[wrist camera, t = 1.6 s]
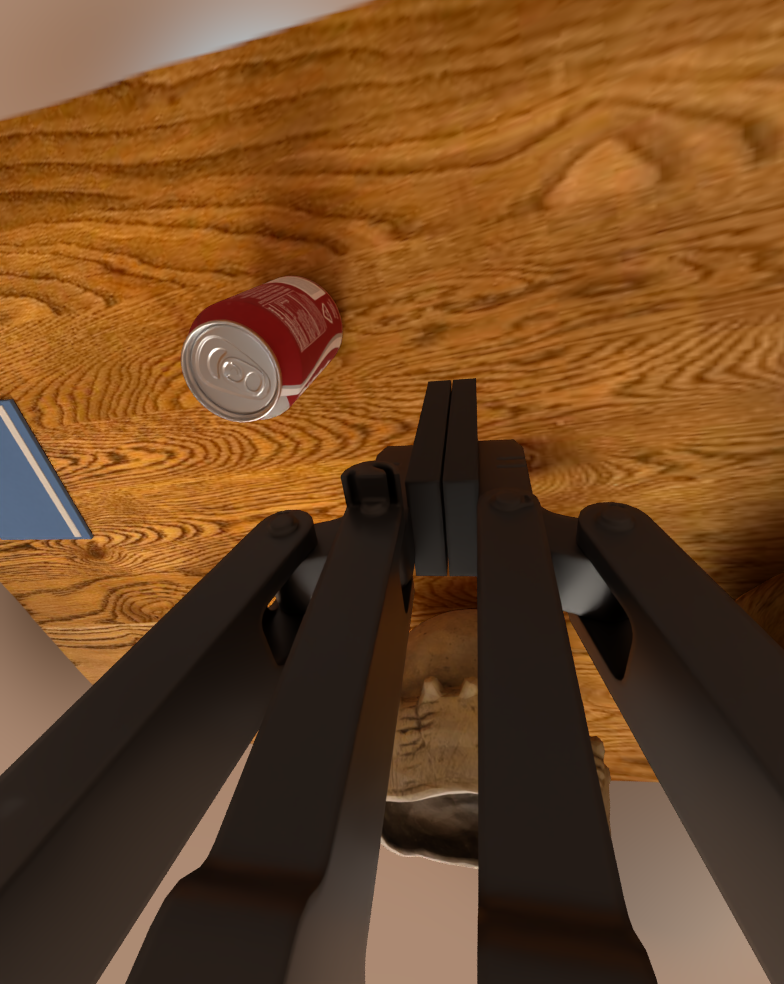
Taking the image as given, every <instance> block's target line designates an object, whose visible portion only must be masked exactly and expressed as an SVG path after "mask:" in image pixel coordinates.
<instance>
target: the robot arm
mask: <svg viewBox="0 0 784 984" xmlns="http://www.w3.org/2000/svg"><path fill="white" fill-rule="evenodd" d="M341 481H342V485H343V490H344V495H345V500H346V504H347V508H346V511H345V513H344V516H343V517H340V518H338V519H334V520H331V521H326V522H322V523H317V524H313V520H312V517H311V516H310V515H309V514H308V513H307V512H304V511H301V510H285V511H280V512H277V513H275V514H273V515H271V516H268V517H267V518H265V519H264V520H263V521H261V522H260V523H259V524H258V525H257V526H256V527H255V528H254V529H253V530H252V531H251V532H249V533H248V534H247V535H246V536H245V537H244V538H243V539H242V540H241V541H240V542H239V543H238V544H237V545H236V546H235V547H234V548H233V549H232V550H231V551H230V552H229V553H228V554H227V555H226V556H225V557H224V558H223V559H222V560H221V561H220V562H219V563H218V564H217V565H216V566H215V567H214V568H213V569H212V570H211V571H210V572H209V573H207V574H206V575H205V576H204V577H203V578H202V579H201V580H200V581H199V582H198V583H197V584H196V585H195V586H194V587H193V588H192V589H191V590H190V591H189V592H188V593H187V594H186V595H185V596H184V597H183V598H182V599H181V600H180V601H179V602H178V603H177V604H176V605H175V606H174V607H173V608H172V609H171V610H170V611H169V612H168V613H167V614H166V615H164V616H163V617H162V618H161V619H160V620H159V621H158V622H157V623H156V624H155V625H154V626H153V627H152V628H151V629H150V630H149V631H148V632H147V633H146V634H145V635H144V636H143V637H142V638H141V639H140V640H139V641H138V642H137V643H136V644H135V645H134V646H133V647H132V648H131V649H130V650H129V651H128V652H127V653H126V654H125V655H124V656H123V657H121V658H120V659H119V660H118V661H117V662H116V663H115V664H114V665H113V666H112V667H111V668H110V669H109V670H108V671H107V672H106V673H105V674H104V675H103V676H102V677H101V678H100V679H99V680H98V681H97V682H96V683H95V684H94V685H93V686H92V687H91V688H90V689H89V690H88V691H87V692H86V693H85V694H84V695H83V696H82V697H81V698H80V699H78V700H77V701H76V702H75V703H74V704H73V705H72V706H71V707H70V708H69V709H68V710H67V711H66V712H65V713H64V714H63V715H62V716H61V717H60V718H59V719H58V720H57V721H56V722H55V723H54V724H53V725H52V726H51V727H50V728H49V729H48V730H47V731H46V732H45V733H44V734H43V735H42V736H41V737H40V738H39V739H38V740H37V741H36V742H35V743H33V745H31V746H30V747H29V748H28V749H27V750H26V751H25V752H24V753H23V754H22V755H21V756H20V757H19V758H18V759H17V760H16V761H15V762H14V763H13V764H12V765H11V766H10V767H9V768H8V769H7V770H6V771H5V772H4V773H3V774H2V775H1V776H0V984H96V983H97V981H98V980H99V978H100V977H101V975H102V973H103V972H104V970H105V969H106V967H107V966H108V964H109V963H110V961H111V959H112V958H113V956H114V955H115V953H116V952H117V950H118V949H119V947H120V946H121V944H122V942H123V941H124V939H125V938H126V936H127V934H128V933H129V931H130V930H131V928H132V927H133V925H134V923H135V922H136V921H137V919H138V917H139V916H140V914H141V913H142V911H143V909H144V908H145V906H146V905H147V903H148V902H149V900H150V899H151V897H152V896H153V894H154V892H155V891H156V889H157V888H158V886H159V885H160V883H161V881H162V880H163V878H164V877H165V875H166V874H167V872H168V870H169V869H170V867H171V866H172V864H173V863H174V861H175V860H176V858H177V856H178V855H179V853H180V852H181V850H182V848H183V847H184V845H185V844H186V842H187V841H188V839H189V838H190V836H191V835H192V833H193V831H194V830H195V828H196V827H197V825H198V824H199V822H200V820H201V819H202V817H203V816H204V814H205V813H206V811H207V810H208V808H209V806H210V805H211V803H212V802H213V800H214V799H215V797H216V795H217V794H218V792H219V791H220V789H221V787H222V786H223V785H224V783H225V781H226V780H227V778H228V777H229V775H230V773H231V772H232V770H233V769H234V767H235V766H236V764H237V763H238V761H239V760H240V758H241V756H242V755H243V753H244V752H245V750H246V749H247V747H248V745H249V744H250V742H251V741H252V739H253V738H254V736H255V735H256V733H257V731H258V730H259V731H258V734H257V736H256V739H255V741H254V744H253V746H252V749H251V751H250V754H249V757H248V759H247V762H246V764H245V767H244V769H243V772H242V774H241V777H240V779H239V782H238V785H237V787H236V790H235V792H234V795H233V797H232V800H231V802H230V805H229V807H228V810H227V812H226V815H225V817H224V820H223V822H222V825H221V827H220V830H219V833H218V835H217V838H216V840H215V843H214V845H213V847H212V849H211V851H210V853H209V855H208V857H207V859H206V860H205V861H204V863H203V864H202V865H201V867H199V868H198V869H196V870H195V871H193V872H192V873H190V874H188V875H187V876H185V877H183V878H182V879H180V880H179V881H178V883H177V884H176V885H175V886H174V888H173V889H172V890H171V892H170V893H169V894H168V895H167V897H166V898H165V900H164V902H163V903H162V905H161V907H160V909H159V911H158V913H157V915H156V917H155V919H154V921H153V923H152V925H151V926H150V929H149V931H148V933H147V935H146V938H145V940H144V942H143V945H142V947H141V949H140V951H139V954H138V956H137V958H136V960H135V963H134V966H133V967H132V970H131V972H130V974H129V977H128V979H127V981H126V983H125V984H365V955H366V946H367V938H368V930H369V923H370V915H371V908H372V901H373V894H374V885H375V879H376V871H377V864H378V857H379V849H380V842H381V835H382V827H383V820H384V813H385V805H386V798H387V791H388V783H389V776H390V769H391V761H392V754H393V747H394V739H395V732H396V725H397V717H398V710H399V703H400V695H401V688H402V680H403V673H404V666H405V658H406V651H407V644H408V636H409V629H410V622H411V614H412V607H413V600H414V592H415V590H414V582H413V570H414V564H415V569H416V576H447V567H448V561H449V575H450V576H477V650H478V871H479V873H478V874H479V875H478V876H479V877H478V880H479V883H478V884H479V886H478V887H479V889H478V891H479V892H478V946H477V947H478V948H477V949H478V952H477V957H478V960H477V964H478V965H477V971H478V973H477V980H478V981H477V983H478V984H657V979H656V976H655V974H654V971H653V968H652V965H651V963H650V960H649V957H648V955H647V952H646V949H645V948H644V946H643V945H642V943H641V942H640V940H639V938H638V937H637V935H636V933H635V932H634V930H633V928H632V925H631V922H630V919H629V916H628V912H627V908H626V905H625V901H624V896H623V892H622V887H621V882H620V878H619V873H618V868H617V863H616V859H615V855H614V850H613V844H612V840H611V835H610V830H609V826H608V821H607V816H606V811H605V807H604V802H603V797H602V793H601V788H600V783H599V778H598V774H597V769H596V764H595V760H594V755H593V750H592V746H591V741H590V736H589V731H588V727H587V722H586V717H585V713H584V708H583V703H582V698H581V694H580V689H579V684H578V680H577V675H576V670H575V665H574V661H573V656H572V651H571V647H570V642H569V637H568V632H567V628H566V623H565V618H564V614H563V611H565V612H568V615H569V619H570V621H571V623H572V625H573V627H574V629H575V630H576V632H577V634H578V636H579V638H580V639H581V641H582V643H583V645H584V647H585V648H586V650H587V652H588V654H589V656H590V657H591V659H592V661H593V663H594V665H595V666H596V668H597V670H598V672H599V674H600V676H601V677H602V679H603V681H604V683H605V685H606V686H607V688H608V690H609V692H610V694H611V695H612V697H613V699H614V701H615V703H616V704H617V706H618V708H619V710H620V712H621V713H622V715H623V717H624V719H625V721H626V722H627V724H628V726H629V728H630V730H631V731H632V733H633V735H634V737H635V739H636V741H637V742H638V744H639V746H640V748H641V750H642V751H643V753H644V755H645V757H646V759H647V760H648V762H649V764H650V766H651V768H652V769H653V771H654V773H655V775H656V777H657V778H658V780H659V782H660V784H661V786H662V787H663V789H664V791H665V793H666V795H667V796H668V798H669V800H670V802H671V804H672V805H673V807H674V809H675V811H676V813H677V815H678V816H679V818H680V820H681V821H682V824H683V825H684V827H685V829H686V831H687V832H688V834H689V836H690V838H691V840H692V842H693V843H694V845H695V847H696V849H697V851H698V852H699V854H700V856H701V858H702V860H703V861H704V863H705V865H706V867H707V869H708V870H709V872H710V874H711V876H712V878H713V879H714V881H715V883H716V885H717V887H718V888H719V890H720V892H721V894H722V896H723V898H724V899H725V901H726V903H727V905H728V907H729V908H730V910H731V912H732V914H733V916H734V917H735V919H736V921H737V923H738V925H739V926H740V928H741V930H742V932H743V933H744V936H745V937H746V939H747V941H748V943H749V945H750V946H751V948H752V950H753V952H754V953H755V955H756V957H757V959H758V961H759V962H760V964H761V966H762V968H763V970H764V971H765V973H766V975H767V977H768V979H769V981H770V982H771V984H784V649H783V648H782V647H781V646H779V645H778V644H777V643H776V642H775V641H774V640H773V639H772V638H771V637H770V636H769V635H768V634H767V633H766V632H765V631H764V630H763V629H762V628H761V627H760V626H759V625H758V624H757V623H756V622H755V621H754V620H753V619H752V618H751V617H750V616H749V615H748V614H747V613H746V612H745V611H744V610H743V609H742V608H741V607H740V606H739V605H738V604H737V603H736V602H735V601H734V600H733V599H732V598H731V597H730V596H729V595H728V594H727V593H726V592H725V591H724V590H723V589H722V588H721V587H720V586H719V585H718V584H717V583H716V582H715V581H714V580H713V579H712V578H711V577H710V576H709V575H708V574H707V573H706V572H705V571H704V570H703V569H702V568H701V567H700V566H699V565H698V564H697V563H696V562H695V561H694V560H693V559H692V558H690V557H689V556H688V555H687V554H686V553H685V552H684V551H683V550H682V549H681V548H680V547H679V546H678V545H677V544H676V543H675V542H674V541H673V540H672V539H671V538H670V537H669V536H668V535H667V534H666V533H665V532H664V531H663V530H662V529H661V528H660V527H659V526H658V525H657V524H656V523H655V522H654V521H653V520H652V519H651V518H650V517H649V516H648V515H646V514H645V513H644V512H642V511H641V510H639V509H637V508H634V507H632V506H629V505H626V504H622V503H615V502H603V503H596V504H592V505H589V506H587V507H586V508H584V509H583V510H582V511H581V512H580V515H579V518H575V517H569V516H564V515H560V514H556V513H553V512H550V511H548V510H546V509H544V508H543V507H541V505H540V502H539V500H538V498H537V497H536V496H535V495H534V494H533V493H532V488H531V483H530V478H529V474H528V469H527V464H526V459H525V454H524V449H523V447H522V446H521V445H520V444H518V443H517V442H516V441H515V440H514V439H512V440H490V441H478V436H477V397H476V378H473V379H459V380H453V385H452V389H451V380H445V381H431V382H428V386H427V390H426V394H425V398H424V403H423V407H422V411H421V415H420V419H419V424H418V428H417V432H416V436H415V441H414V445H408V446H387V447H386V448H385V449H384V450H383V451H382V452H380V453H379V454H378V455H377V458H376V461H367V462H362V463H359V464H356V465H353V466H352V467H350V468H348V469H347V470H345V471H344V472H343V474H342V475H341ZM274 596H275V597H276V600H275V601H274V603H273V604H272V605H271V606H270V607H267V606H268V604H269V602H270V601H271V600H272V599H273V598H274ZM259 728H260V729H259Z"/></svg>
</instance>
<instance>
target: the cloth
mask: <svg viewBox="0 0 784 984" xmlns="http://www.w3.org/2000/svg"><path fill="white" fill-rule="evenodd" d="M0 538H1V539H2V540H24V539H92V538H93V535H92V533H91V531H90V530H89V528H88V526H87V525H86V523H85V521H84V520H83V518H82V516H81V514H80V513H79V511H78V509H77V508H76V506H75V504H74V503H73V501H72V499H71V497H70V496H69V494H68V492H67V491H66V489H65V487H64V486H63V484H62V482H61V480H60V479H59V477H58V475H57V474H56V472H55V470H54V469H53V467H52V465H51V463H50V462H49V460H48V458H47V457H46V455H45V453H44V452H43V450H42V448H41V446H40V445H39V443H38V441H37V440H36V438H35V436H34V435H33V433H32V431H31V429H30V428H29V426H28V424H27V423H26V421H25V419H24V418H23V416H22V414H21V412H20V411H19V409H18V407H17V406H16V404H15V402H14V401H13V399H8V400H0Z"/></svg>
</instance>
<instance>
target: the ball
mask: <svg viewBox="0 0 784 984" xmlns="http://www.w3.org/2000/svg"><path fill="white" fill-rule="evenodd" d="M735 602H736V603H737V604H738V605H739V606H740V607H741V608H742V609H743V610H744V611H745V612H746V613H747V614H748V615H749V616H750V617H751V618H752V619H753V620H754V621H755V622H756V623H757V624H758V625H759V626H760V627H761V628H762V629H763V630H764V631H765V632H766V633H767V634H768V635H769V636H770V637H771V638H772V639H773V640H774V641H775V642H776V643H777V644H778V645H779V646H781V647H782V648H783V649H784V572H783V573H781V574H778V575H775V576H774V577H772V578H770V579H769V580H767V581H765V582H763V583H762V584H760V585H758V586H757V587H755V588H753V589H751V590H750V591H748V592H746V593H745V594H743V595H741V596H740V597H739V598H737V599H736V600H735Z"/></svg>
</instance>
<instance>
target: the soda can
mask: <svg viewBox="0 0 784 984" xmlns="http://www.w3.org/2000/svg"><path fill="white" fill-rule="evenodd" d="M342 334H343V327H342V320H341V316H340V312H339V310H338V308H337V306H336V304H335V302H334V300H333V299H332V297H331V296H330V295H329V294H328V293H327V292H326V291H325V290H324V289H323V288H322V287H321V286H320V285H318V284H317V283H315V282H313V281H311V280H309V279H307V278H304V277H299V276H284V277H280V278H277V279H275V280H272V281H270V282H267V283H265V284H262V285H260V286H257V287H255V288H252V289H250V290H247V291H245V292H242V293H240V294H237V295H235V296H232V297H230V298H227V299H225V300H222V301H220V302H217V303H215V304H213V305H211V306H209V307H207V308H206V309H204V310H203V311H202V312H201V313H200V314H199V315H198V316H197V318H196V319H195V320H194V322H193V324H192V326H191V328H190V331H189V334H188V336H187V338H186V340H185V342H184V344H183V347H182V352H181V366H182V371H183V375H184V378H185V381H186V383H187V385H188V387H189V389H190V390H191V392H192V393H193V395H194V396H195V397H196V399H197V400H198V401H199V402H200V403H201V404H202V405H203V406H204V407H205V408H207V409H208V410H209V411H211V412H212V413H214V414H215V415H217V416H219V417H221V418H224V419H226V420H230V421H234V422H251V421H255V420H264V419H270V418H273V417H276V416H278V415H280V414H282V413H283V412H285V411H286V410H287V409H289V408H290V407H291V406H292V404H293V403H294V402H295V401H296V400H297V399H298V398H299V397H300V395H301V394H302V393H303V392H304V391H305V390H306V389H307V387H308V386H309V385H310V384H311V383H312V382H313V381H314V379H315V378H316V377H317V376H318V375H319V374H320V373H321V371H322V370H323V369H324V368H325V367H326V366H327V365H328V364H329V362H330V361H331V360H332V359H333V358H334V356H335V355H336V353H337V352H338V350H339V347H340V345H341V341H342Z"/></svg>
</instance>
